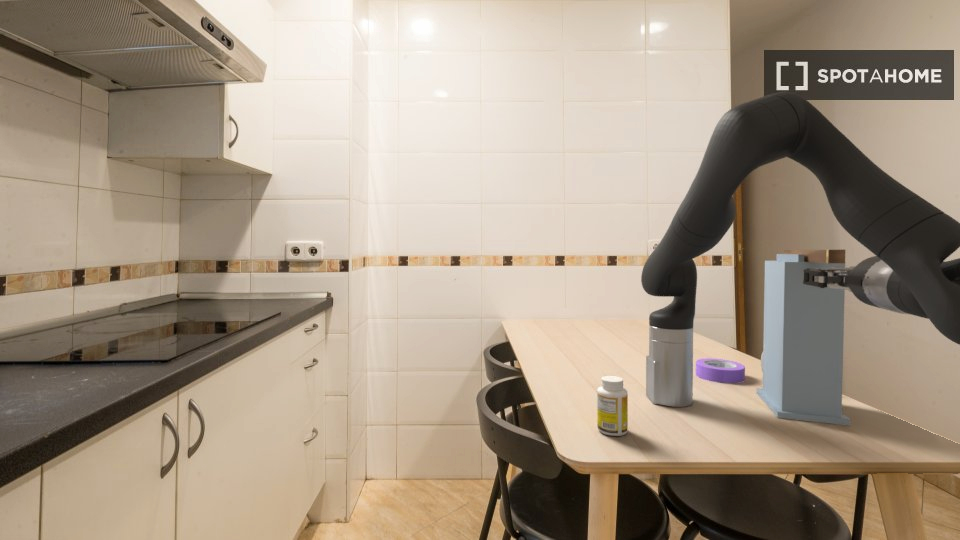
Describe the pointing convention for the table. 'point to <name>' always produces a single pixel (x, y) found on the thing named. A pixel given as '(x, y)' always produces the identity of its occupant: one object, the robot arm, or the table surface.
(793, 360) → the pale blue pedestal
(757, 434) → the table surface
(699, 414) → the table surface
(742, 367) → the masking tape
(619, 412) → the supplement bottle
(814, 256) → the brown wooden bar
